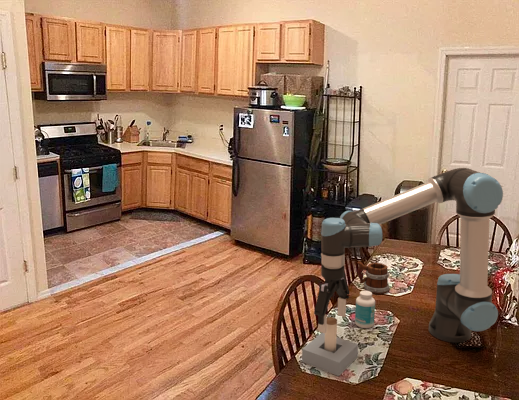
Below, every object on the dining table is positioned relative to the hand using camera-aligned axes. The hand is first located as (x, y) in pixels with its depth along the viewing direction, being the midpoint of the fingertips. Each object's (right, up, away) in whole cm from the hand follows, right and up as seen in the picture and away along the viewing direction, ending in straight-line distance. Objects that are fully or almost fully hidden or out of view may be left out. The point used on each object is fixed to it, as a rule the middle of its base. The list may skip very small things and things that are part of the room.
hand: (332, 323), depth 160 cm
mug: (+28, 0, +59) cm, 65 cm away
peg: (0, -13, +3) cm, 14 cm away
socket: (0, -13, +3) cm, 14 cm away
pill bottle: (+17, -7, +27) cm, 33 cm away
